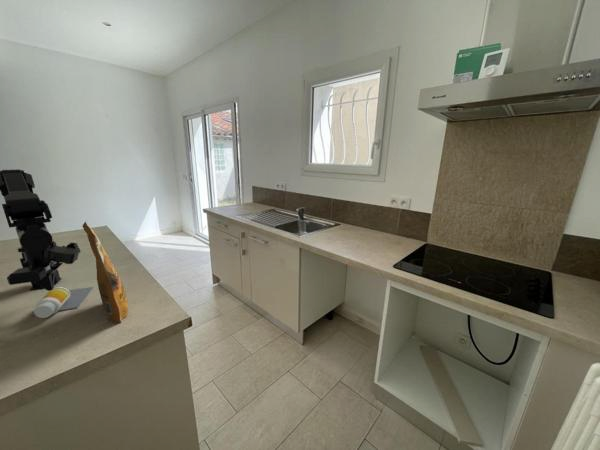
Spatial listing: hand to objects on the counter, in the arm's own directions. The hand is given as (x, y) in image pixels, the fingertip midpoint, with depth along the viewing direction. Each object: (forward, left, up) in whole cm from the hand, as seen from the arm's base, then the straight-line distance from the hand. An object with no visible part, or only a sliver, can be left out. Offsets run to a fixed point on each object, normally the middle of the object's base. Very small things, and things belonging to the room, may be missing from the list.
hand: (50, 289), depth 73 cm
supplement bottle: (0, +4, -4) cm, 6 cm away
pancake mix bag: (+17, -6, -7) cm, 19 cm away
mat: (0, +5, -7) cm, 9 cm away
